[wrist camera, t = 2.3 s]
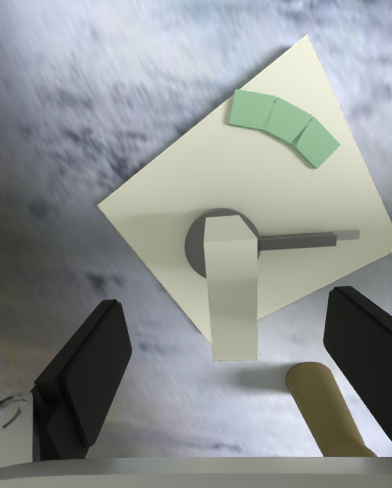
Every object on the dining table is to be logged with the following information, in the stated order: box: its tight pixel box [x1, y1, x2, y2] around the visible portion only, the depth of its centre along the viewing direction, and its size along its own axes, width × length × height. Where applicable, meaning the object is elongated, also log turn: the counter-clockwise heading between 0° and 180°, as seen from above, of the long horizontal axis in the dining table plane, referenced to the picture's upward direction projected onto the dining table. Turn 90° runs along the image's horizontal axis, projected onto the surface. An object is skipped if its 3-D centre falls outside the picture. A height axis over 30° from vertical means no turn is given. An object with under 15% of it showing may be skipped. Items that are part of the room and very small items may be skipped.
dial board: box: [97, 35, 392, 344], centre depth 20 cm, size 22×20×2 cm
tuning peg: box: [185, 208, 337, 361], centre depth 15 cm, size 14×7×10 cm, turn 95°
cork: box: [286, 362, 377, 457], centre depth 22 cm, size 6×6×11 cm
